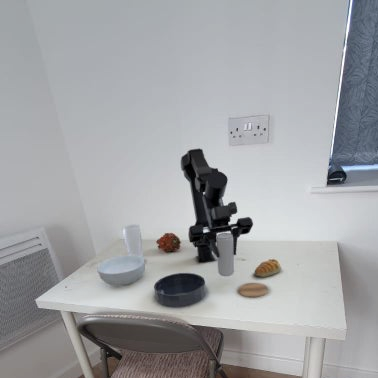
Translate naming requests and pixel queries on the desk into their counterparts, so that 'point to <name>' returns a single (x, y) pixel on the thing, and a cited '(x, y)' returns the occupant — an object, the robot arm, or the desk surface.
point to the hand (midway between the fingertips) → (226, 255)
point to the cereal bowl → (121, 269)
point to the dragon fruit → (169, 242)
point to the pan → (180, 290)
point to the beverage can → (225, 254)
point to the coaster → (253, 290)
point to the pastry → (268, 268)
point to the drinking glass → (133, 239)
